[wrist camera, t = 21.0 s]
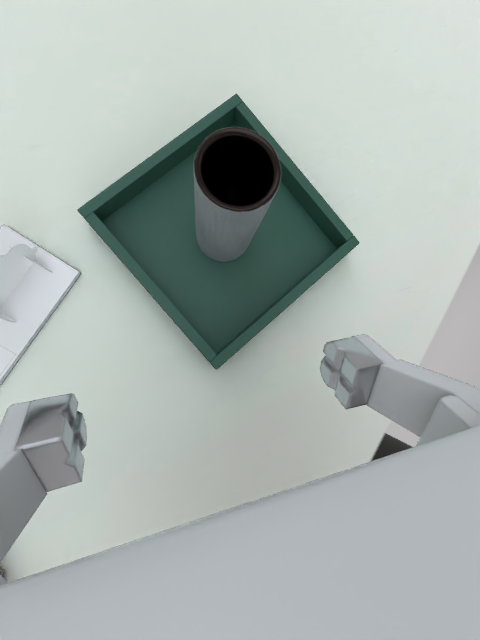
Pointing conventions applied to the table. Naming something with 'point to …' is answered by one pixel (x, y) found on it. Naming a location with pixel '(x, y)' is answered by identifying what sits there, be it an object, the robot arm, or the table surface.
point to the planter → (232, 190)
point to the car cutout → (27, 293)
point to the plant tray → (198, 269)
